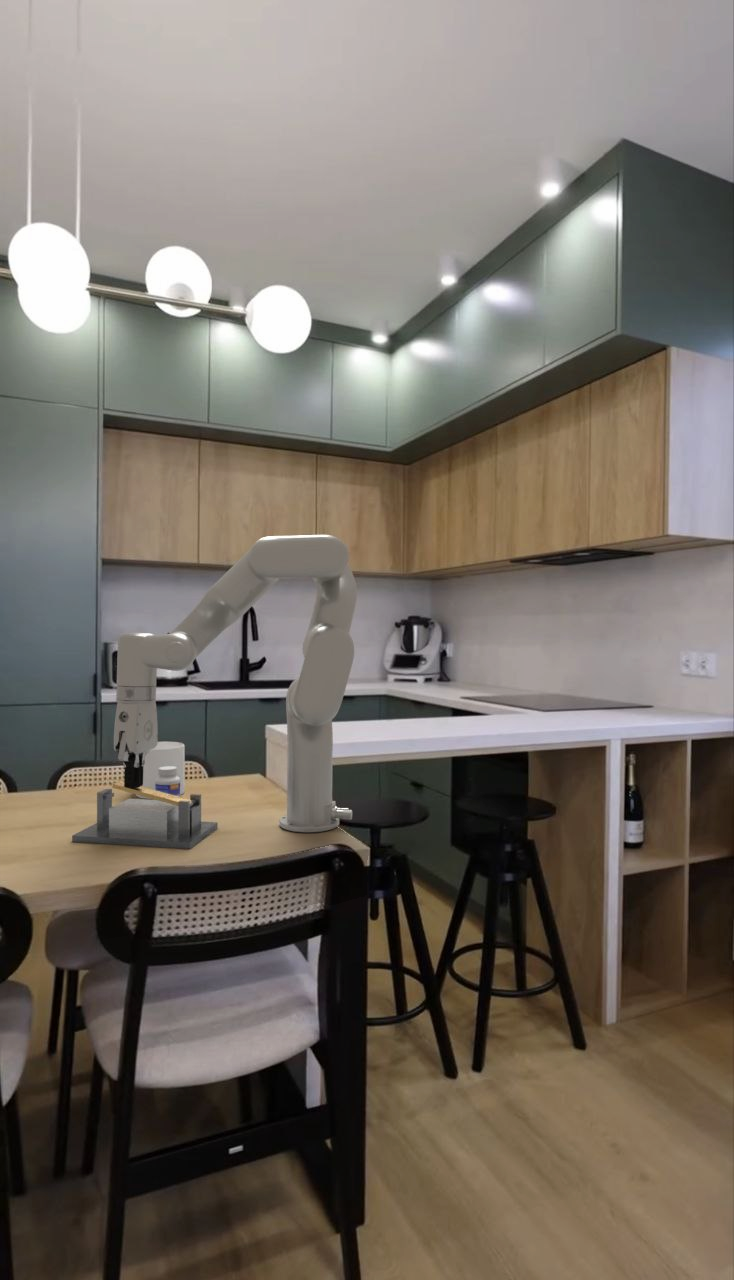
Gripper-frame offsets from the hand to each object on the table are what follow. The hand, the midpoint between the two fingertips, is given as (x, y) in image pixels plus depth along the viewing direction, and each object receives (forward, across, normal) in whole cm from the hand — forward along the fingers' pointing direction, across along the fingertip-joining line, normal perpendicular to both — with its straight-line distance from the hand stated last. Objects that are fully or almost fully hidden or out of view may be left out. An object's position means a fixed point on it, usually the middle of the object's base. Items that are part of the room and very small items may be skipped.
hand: (133, 786), depth 143 cm
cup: (+10, +33, +10) cm, 36 cm away
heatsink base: (+10, 0, -3) cm, 10 cm away
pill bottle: (+10, +18, +1) cm, 21 cm away
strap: (+2, 0, -4) cm, 5 cm away
